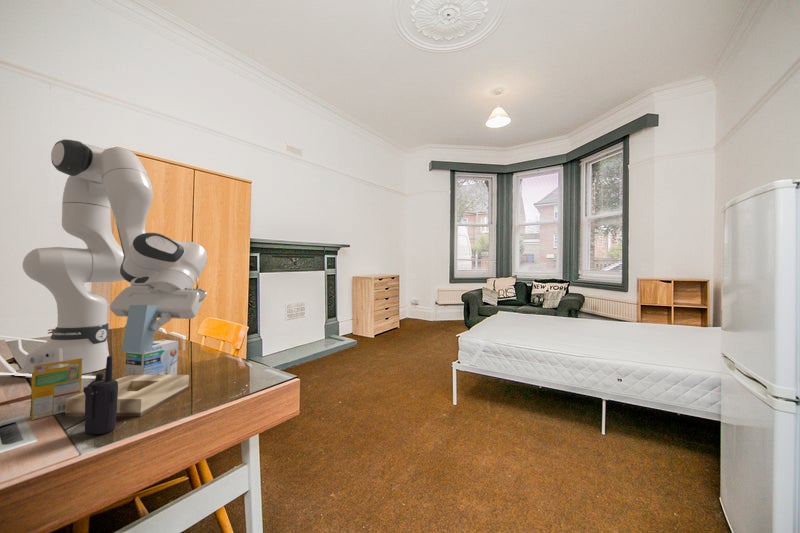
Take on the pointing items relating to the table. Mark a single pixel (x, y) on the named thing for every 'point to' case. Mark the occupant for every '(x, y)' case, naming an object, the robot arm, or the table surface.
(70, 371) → the crayon box
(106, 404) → the two-way radio
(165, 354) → the light bulb box
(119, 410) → the pocket block
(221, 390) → the table surface
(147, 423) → the table surface
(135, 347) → the post
